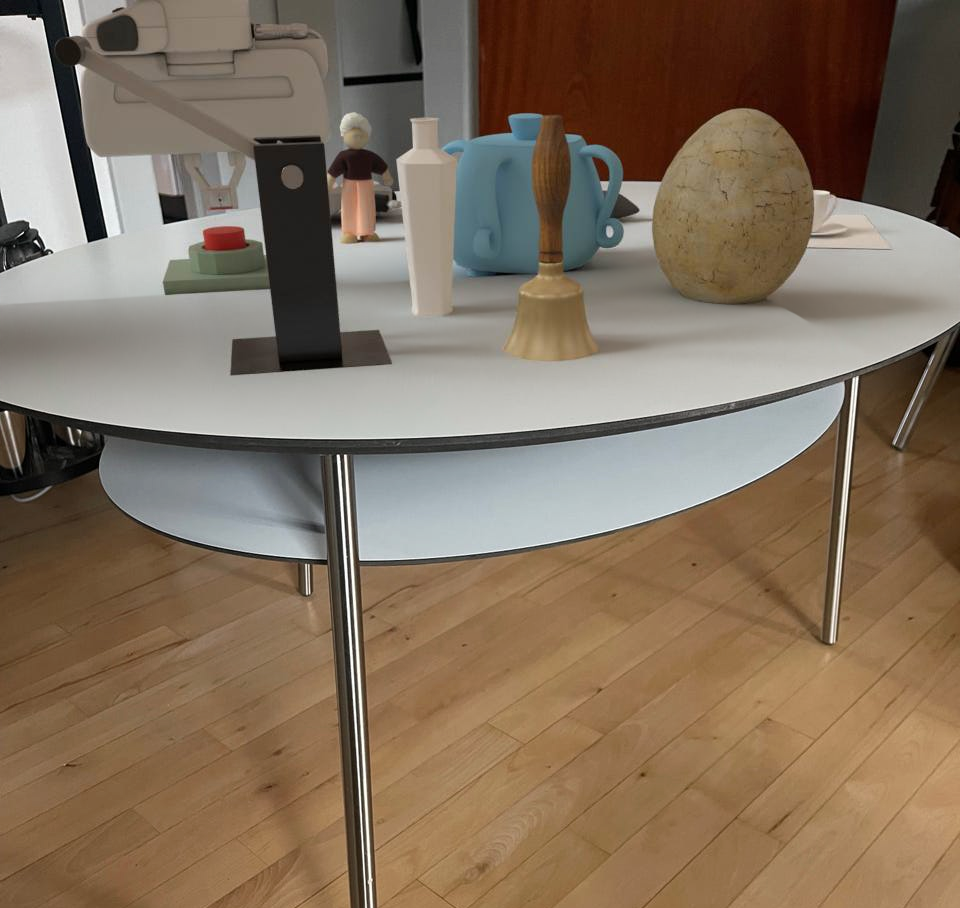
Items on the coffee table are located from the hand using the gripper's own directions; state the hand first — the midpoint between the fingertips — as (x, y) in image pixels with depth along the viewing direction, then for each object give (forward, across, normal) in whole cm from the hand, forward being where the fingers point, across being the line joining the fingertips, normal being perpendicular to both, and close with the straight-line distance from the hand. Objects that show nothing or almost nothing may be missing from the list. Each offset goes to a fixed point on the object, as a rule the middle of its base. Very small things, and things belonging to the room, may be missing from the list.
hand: (222, 208), depth 90 cm
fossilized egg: (+8, -41, +16) cm, 45 cm away
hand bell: (+7, -23, +28) cm, 37 cm away
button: (+3, 0, 0) cm, 4 cm away
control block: (+7, 0, 0) cm, 7 cm away
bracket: (+7, -6, +25) cm, 27 cm away
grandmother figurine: (+7, -14, -21) cm, 26 cm away
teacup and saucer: (+8, -61, -15) cm, 63 cm away
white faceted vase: (+7, -16, +16) cm, 24 cm away
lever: (-8, 0, +25) cm, 26 cm away
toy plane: (+8, -36, -30) cm, 47 cm away
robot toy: (+7, -12, -35) cm, 38 cm away
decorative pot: (+7, -28, -2) cm, 29 cm away
